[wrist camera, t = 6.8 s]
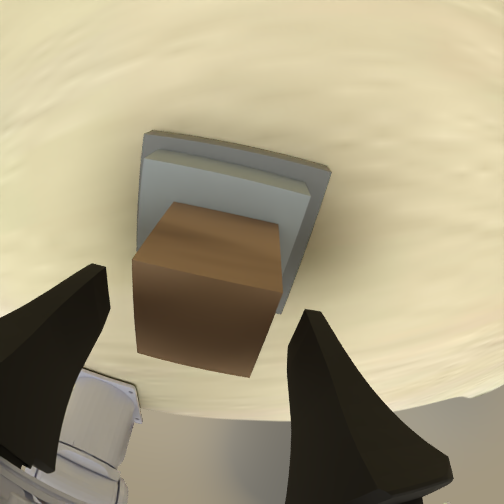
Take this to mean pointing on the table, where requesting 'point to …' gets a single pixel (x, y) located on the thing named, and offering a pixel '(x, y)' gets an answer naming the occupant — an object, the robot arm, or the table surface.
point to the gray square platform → (261, 160)
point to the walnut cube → (206, 289)
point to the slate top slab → (220, 193)
